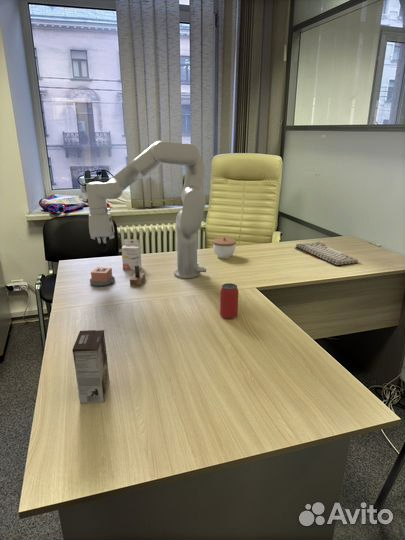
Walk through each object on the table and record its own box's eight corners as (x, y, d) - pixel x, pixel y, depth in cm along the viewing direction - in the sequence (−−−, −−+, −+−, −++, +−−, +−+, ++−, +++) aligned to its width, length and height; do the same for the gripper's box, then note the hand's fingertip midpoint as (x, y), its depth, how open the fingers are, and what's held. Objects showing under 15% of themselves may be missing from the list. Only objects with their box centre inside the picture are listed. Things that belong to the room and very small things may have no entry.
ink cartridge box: (122, 269, 186) (120, 241, 180) (125, 266, 190) (123, 238, 185) (139, 270, 185) (137, 242, 180) (141, 267, 189) (140, 239, 184)
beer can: (239, 313, 141) (240, 283, 137) (235, 320, 135) (236, 290, 131) (222, 310, 143) (223, 281, 139) (217, 318, 137) (218, 288, 133)
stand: (145, 279, 174) (144, 262, 171) (140, 286, 165) (139, 269, 163) (135, 278, 174) (134, 262, 172) (130, 285, 166) (128, 269, 163)
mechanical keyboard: (363, 264, 197) (364, 257, 196) (335, 268, 190) (335, 262, 189) (317, 245, 230) (317, 240, 228) (291, 249, 223) (291, 243, 222)
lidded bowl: (223, 251, 214) (224, 233, 210) (240, 256, 206) (240, 237, 202) (208, 256, 206) (208, 237, 202) (224, 261, 198) (224, 241, 194)
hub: (118, 278, 174) (117, 265, 172) (110, 287, 164) (108, 273, 162) (95, 277, 175) (94, 264, 173) (86, 286, 165) (84, 272, 163)
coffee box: (86, 381, 102) (79, 329, 96) (110, 380, 102) (104, 328, 97) (78, 404, 93) (71, 349, 88) (104, 402, 94) (98, 347, 88)
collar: (112, 276, 172) (111, 267, 170) (106, 282, 165) (105, 273, 164) (97, 276, 173) (96, 267, 171) (91, 281, 166) (90, 272, 165)
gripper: (117, 208, 164) (123, 248, 170) (85, 209, 166) (91, 248, 172) (112, 212, 157) (117, 253, 164) (78, 213, 159) (85, 253, 165)
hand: (104, 251), depth 168 cm, fingers closed
